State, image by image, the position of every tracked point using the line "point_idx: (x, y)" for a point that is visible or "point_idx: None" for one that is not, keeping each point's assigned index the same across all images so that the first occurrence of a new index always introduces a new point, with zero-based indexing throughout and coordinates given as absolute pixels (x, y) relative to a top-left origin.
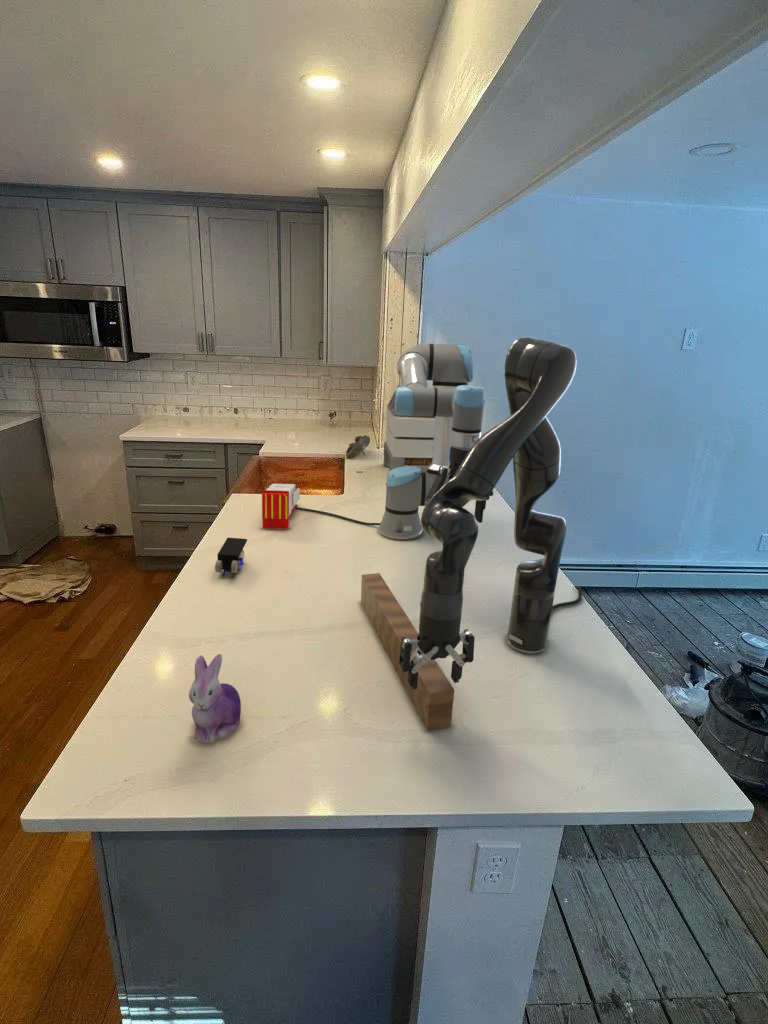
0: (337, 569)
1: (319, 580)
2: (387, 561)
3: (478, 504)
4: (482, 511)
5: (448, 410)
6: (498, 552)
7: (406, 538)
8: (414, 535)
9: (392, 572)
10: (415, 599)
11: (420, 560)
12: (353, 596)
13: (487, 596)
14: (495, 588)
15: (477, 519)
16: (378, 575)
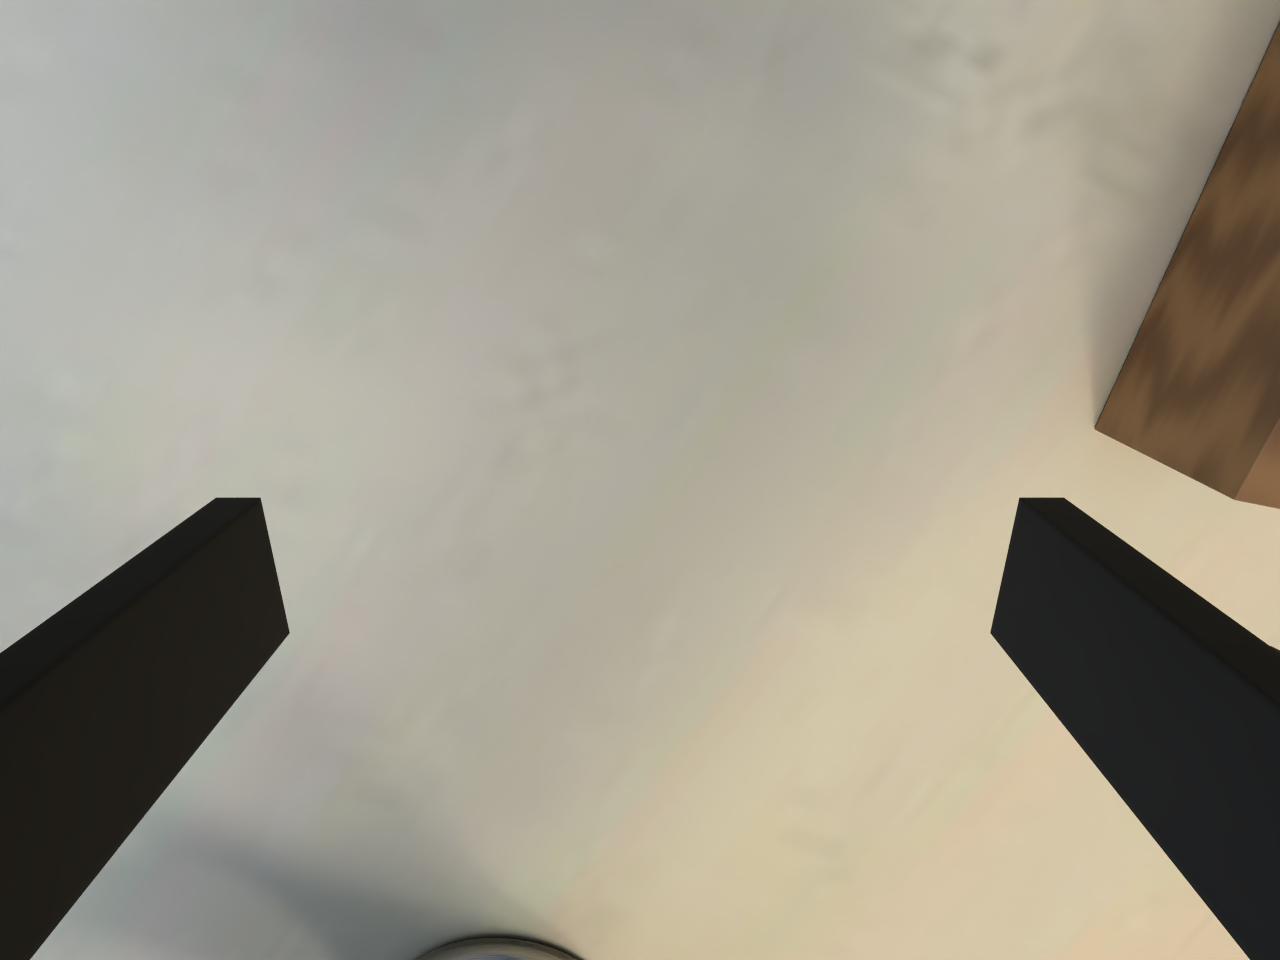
0: (1041, 796)
1: None
2: (755, 785)
3: (78, 779)
4: (100, 598)
5: None
6: None
7: (522, 948)
8: (471, 958)
9: (807, 677)
10: (891, 360)
11: (579, 738)
12: (1170, 527)
13: (442, 200)
14: (327, 274)
15: (259, 574)
16: (1270, 468)
